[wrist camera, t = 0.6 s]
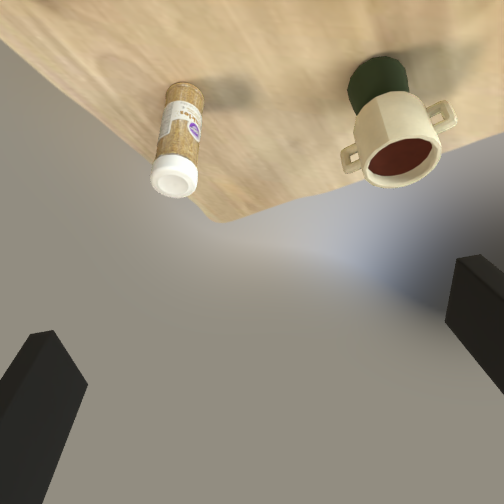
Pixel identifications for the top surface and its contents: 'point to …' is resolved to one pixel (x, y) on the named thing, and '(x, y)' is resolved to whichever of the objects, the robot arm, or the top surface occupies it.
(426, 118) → the cream and green goblet
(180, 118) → the sprinkles bottle
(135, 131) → the top surface
